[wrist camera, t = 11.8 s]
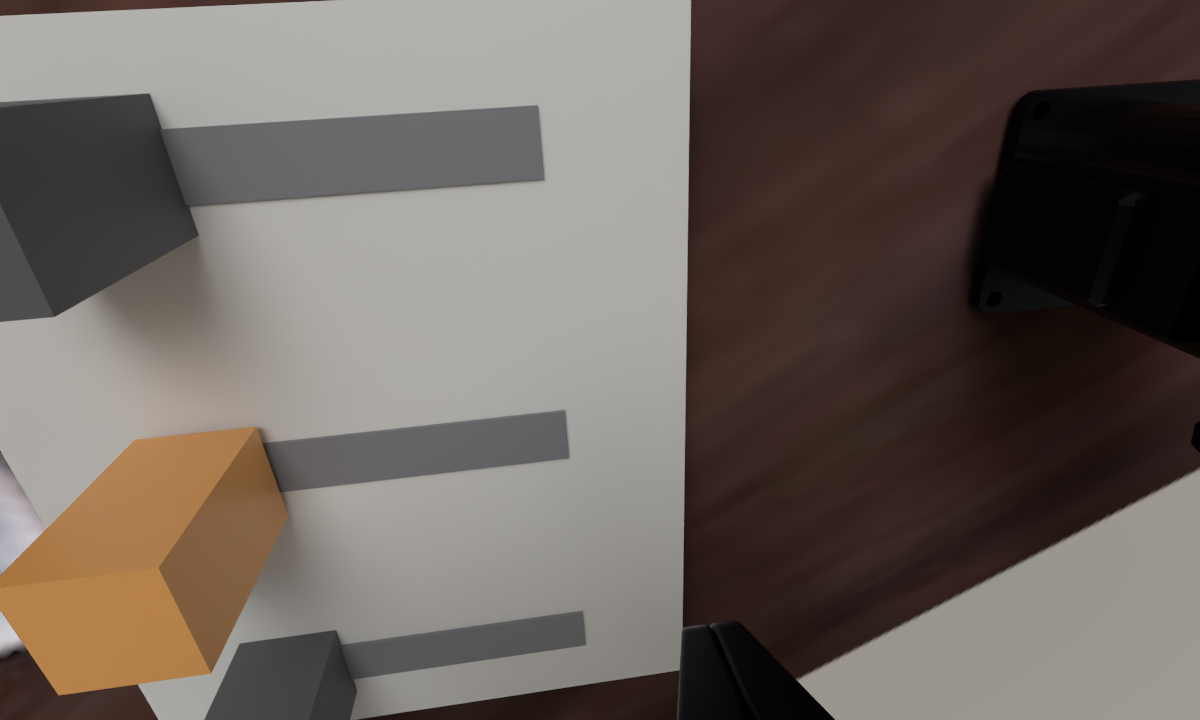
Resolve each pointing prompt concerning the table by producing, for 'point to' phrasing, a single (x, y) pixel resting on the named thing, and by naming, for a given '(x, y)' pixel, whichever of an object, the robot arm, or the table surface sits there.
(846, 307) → the table surface
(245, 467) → the block
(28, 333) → the breaker panel
